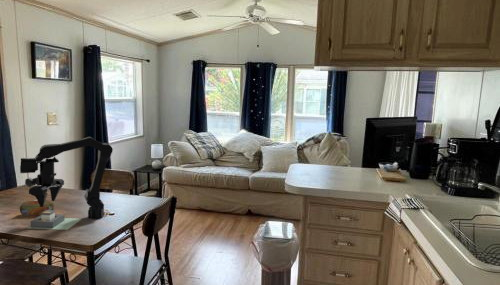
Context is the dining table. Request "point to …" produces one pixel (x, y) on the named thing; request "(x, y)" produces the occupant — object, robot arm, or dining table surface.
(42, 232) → the dining table surface
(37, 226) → the grey flat square frame
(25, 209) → the tin
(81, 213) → the dining table surface
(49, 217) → the plug
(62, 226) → the circuit board
